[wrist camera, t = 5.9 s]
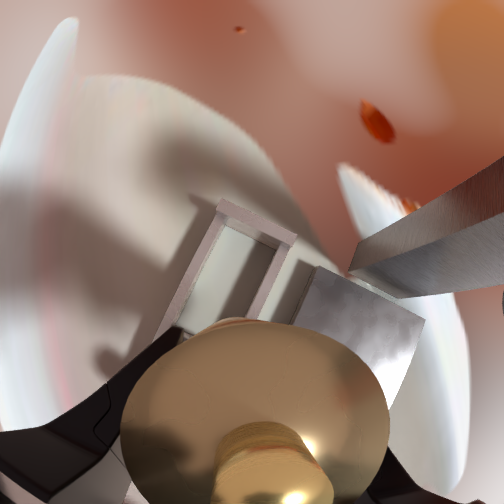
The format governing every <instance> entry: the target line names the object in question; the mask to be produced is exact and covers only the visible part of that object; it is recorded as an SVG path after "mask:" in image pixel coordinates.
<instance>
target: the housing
mask: <svg viewBox="0 0 504 504" xmlns="http://www.w3.org/2000/svg"><path fill="white" fill-rule="evenodd" d="M389 434H390V417H389V409H388V404H387V401H386V397H385V394H384V391H383V389H382V387H381V385H380V383H379V381H378V379H377V378H376V376H375V375H374V373H373V372H372V370H371V369H370V368H369V366H368V365H367V364H366V363H365V362H364V361H363V360H362V359H361V358H360V357H359V356H358V355H357V354H355V353H354V352H353V351H352V350H350V349H349V348H348V347H346V346H345V345H343V344H341V343H340V342H338V341H336V340H334V339H332V338H331V337H328V336H326V335H323V334H321V333H318V332H316V331H313V330H309V329H305V328H301V327H297V326H293V325H287V324H280V323H274V322H268V321H262V320H256V319H251V318H245V317H230V318H226V319H222V320H220V321H218V322H216V323H214V324H212V325H211V326H209V327H207V328H206V329H204V330H202V331H201V332H199V333H197V334H196V335H194V336H193V337H191V338H189V339H188V340H186V341H184V342H182V343H181V344H179V345H177V346H176V347H174V348H173V349H172V350H170V351H169V352H167V353H166V354H164V355H163V356H161V357H160V358H159V359H158V360H157V361H156V362H155V363H154V364H153V365H151V366H150V367H149V368H148V369H147V370H146V372H145V373H144V374H143V375H142V377H141V378H140V379H139V380H138V381H137V383H136V385H135V386H134V388H133V390H132V392H131V393H130V395H129V397H128V400H127V402H126V405H125V408H124V410H123V415H122V420H121V425H120V444H121V451H122V456H123V460H124V463H125V466H126V469H127V471H128V473H129V475H130V477H131V479H132V481H133V483H134V484H135V486H136V487H137V489H138V490H139V492H140V493H141V494H142V496H143V497H144V498H145V499H146V500H147V501H148V502H149V503H150V504H353V503H354V502H355V501H356V500H357V499H358V498H359V497H360V496H361V495H362V494H363V492H364V491H365V490H366V489H367V487H368V486H369V485H370V483H371V482H372V480H373V479H374V477H375V475H376V474H377V472H378V470H379V468H380V466H381V464H382V461H383V459H384V456H385V453H386V449H387V446H388V440H389Z"/></svg>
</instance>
